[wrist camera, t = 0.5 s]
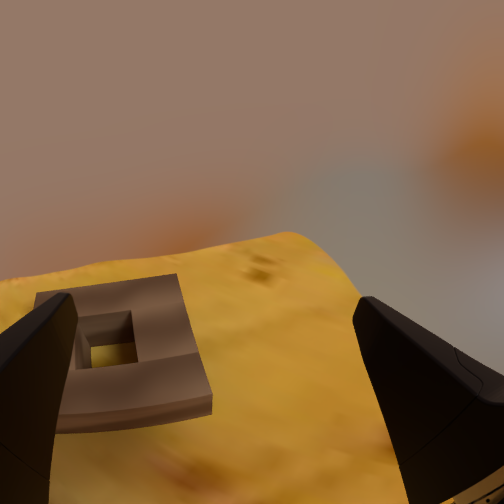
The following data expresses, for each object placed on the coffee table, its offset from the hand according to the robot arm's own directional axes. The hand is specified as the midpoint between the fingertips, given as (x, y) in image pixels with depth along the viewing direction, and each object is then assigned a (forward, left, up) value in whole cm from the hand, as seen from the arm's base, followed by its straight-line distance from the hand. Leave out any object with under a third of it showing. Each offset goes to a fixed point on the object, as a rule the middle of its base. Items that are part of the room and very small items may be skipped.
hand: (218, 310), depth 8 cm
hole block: (+4, +9, -16) cm, 19 cm away
